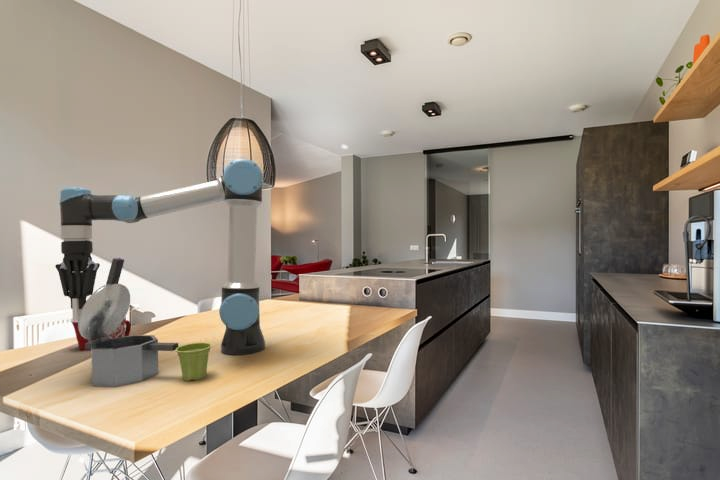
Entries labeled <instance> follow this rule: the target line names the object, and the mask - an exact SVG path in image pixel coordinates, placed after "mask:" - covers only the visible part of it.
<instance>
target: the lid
mask: <svg viewBox="0 0 720 480" xmlns="http://www.w3.org/2000/svg"><path fill="white" fill-rule="evenodd" d="M124 264H125V259H123V258H119V257H116V258H115V257H114V258H112V261H111V266H110V268H109V271H108V275H107V279H106V282H105V283H106V284H105V285H102V286H100V287H99V288H98V289H96V290H95V291H93V294H92V295H89V296H88V299H86V303H85V304H84V306H83V308H82V310H81V312H80V315H79V320H78V329H79V332H80V334H81V336H82V337H84V338H85V339H88V344H93V343H96V342H99V341H103V340H106V339H108V338H109V335H110V334H111V333H113V332H114V331H115V330H116V329H117V328H118V327H119V325H120V324H121V323H122V321H123V320H124V318H125V317H126V316H127V314H128V312H129V309H130V304H131V293H130V291H129V289H128V287H127V286H126V285H123V284H121V283H119V282H120V278H121V274H122V271H123V270H122V269H123V267H124Z"/></svg>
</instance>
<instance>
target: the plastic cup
mask: <svg viewBox="0 0 720 480" xmlns="http://www.w3.org/2000/svg"><path fill="white" fill-rule="evenodd" d="M69 321H70V323H71V324H72V327H73V328H74V332H75V337H76V341H77V343H78V348H79V350H80V351H88V350H89V351H91V349H85V343H88V339H85V338H84V337H82V336H81V334H80V332H79V329H78V321H73V317H72V318H70V320H69Z"/></svg>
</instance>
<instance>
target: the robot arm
mask: <svg viewBox="0 0 720 480" xmlns="http://www.w3.org/2000/svg"><path fill="white" fill-rule="evenodd" d="M263 181H264V174H263V171H262V169H261V167H260V166H259V165H258V164H257V163H256V162H254V161H253V160H250V159H247V158H237V159H234V160H232V161H231V162H229V163H228V164H227V166H226V167H225V168H224V171H223V175H219V176H218V178H217V179H216V180H215V179H214V180H211V181H207V182H202V183H197V184H193V185H192V184H191V185H187V186H182V187H178V188H174V189H169V190H165V191H161V192H160V191H159V192H155V193H150V194H147V195H142V196H138V197H137V196H136V197H134V196H133V195H127V194H126V195H125V194H118V195H117V194H110V195H109V194H108V195H107V194H106V195H102V194H101V195H97V194H92V190H91V189H90V188H84V187H64V188H62V189H61V191H60V195H59V196H60V200H59V207H60V239H61V240H63V241H62V242H60V247H61V249H60V250H61V252H60V253H61V254H63V258H62V262H61V263H59V264H58V263H57V264H55V266H54V267H55V268H56V270H57V272H58V276H59V280H60V284H61V288H62V294H63V296H64V297H68V298H69V299H70V309H71V310H72V311H71V312H72V318H73V321H78V320H79V315H80V312H81V310H82V308H83V306H84V304H85V303H86V301H87V297H90V296H91V295H92V294H93V293H94V288H95V283H96V278H97V272H98V269H99V268H100V266H101V265H100V263H98V262H95V261H94V260H93V258H92V256H91V255H92V253H93V250H94V249H93V241H91V240H92V239H93V221H116V222H124V223H126V224H133V223H134V224H135V223H138V222H140V221H141V220H145V219H150V218H154V217H158V216H162V215H167V214H172V213H175V212H181V211H186V210H188V209H194V208H197V207H198V208H199V207H202V206H208V205H211V204H215V203H219V202H220V203H221V202H225V204H227V205H228V209H229V210H228V211H229V212H228V236H227V237H228V238H227V239H228V240H227V241H228V243H227V246H228V247H227V271H226V273H227V275H226V277H227V278H226V282H225V283H223V285H221V303H220V307H219V308H218V309H219V311H218V313H219V317H220V318H219V319H220V321H221V322H222V323H223V324H224V326H225V331H224V335H223V337H222V340H221V344H220V352H221V353H222V354H225V355H233V356H235V355H236V356H237V355H239V356H240V355H248V354H254V353H257V352H260V351H262V350H265V348H266V339H265V336H264V335H263V334H264V333H263V332H262V329H261V325H260V324H261V323H260V318H261V317H260V293H261V292H260V285H259V284H258V282H256V255H257V254H256V249H257V242H256V241H257V219H258V218H257V217H258V216H257V215H258V213H257V212H258V207H259V206H260V205H262V204H263V184H264V183H263Z"/></svg>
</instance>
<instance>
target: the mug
mask: <svg viewBox="0 0 720 480" xmlns="http://www.w3.org/2000/svg"><path fill="white" fill-rule="evenodd" d="M131 325H132V324H131V321H130V320H128V319H127V317H126V316H125V318H124V320H123V321H122V323H121V324H120V325H119V327H118V328H117V329H116V330H115V331H114V332H113V333H111V334H110V335H109V338H108V339H110V338H117V337H124V336H130V333H131V328H132V327H131ZM106 340H107V339H106Z"/></svg>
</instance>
